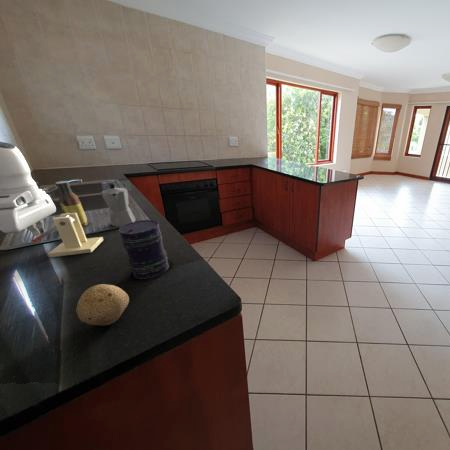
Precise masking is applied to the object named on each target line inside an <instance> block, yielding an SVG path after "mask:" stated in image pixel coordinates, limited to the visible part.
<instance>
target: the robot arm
mask: <svg viewBox="0 0 450 450" xmlns="http://www.w3.org/2000/svg"><path fill="white" fill-rule="evenodd" d="M31 173H32V172H31V168H30V167H29V164H28V162H27V160H26V158H25V156H24V155H23V153H22V152H21V150H20V149H19V147H17V146H16V145H14V144H11V143H10V142H3V141H0V231H1V232H2V233H4V234H14V233H19V232H22V231H24V230H28V231H30V232H31V234H32V236H34V237H38V236H40V235H41V234H43V233H45V232H46V229H45V228H44V226H45V225H44V224H45V221H44V219H45V218H47V217H49V216H51V215H53V214H55V213H56V212H57V207H56V205H55V203H54V202H53V199H52V198H51V196H50V195H49V194H47V193H46V191H45V190H44V189H41V188H39V186H38V184H37V182H36V181H35V180H34V178H33V177H32V174H31Z"/></svg>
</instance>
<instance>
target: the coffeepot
mask: <svg viewBox="0 0 450 450" xmlns="http://www.w3.org/2000/svg"><path fill="white" fill-rule="evenodd" d="M109 186H110V188H108V189H104V190H102V191H101V192H100V195H101V196H102V198H103V200H104V202H105V204H106V206H107V207H108V208H109V216H110V224H111V225H112V226H113V227H122V226H124V225H126V224H129V223H132V222H136V221H137V220H136V217H135V215H134V214H133V212H132V209H131V208H130V207H129V204H130V201H129V194H128V193H129V192H128V189H127V188H124V187H117V186H116V185H115V183H111V184H110V185H109Z"/></svg>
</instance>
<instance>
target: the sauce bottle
mask: <svg viewBox="0 0 450 450" xmlns="http://www.w3.org/2000/svg"><path fill="white" fill-rule="evenodd" d="M55 186H56V187H57V190H58V192H59V193H58V194H59V199H58V200H59V201H58V203H59V205H60V207H61V209H62V212H63V214H66V213H77V215H78V218H79V220H80V223H81V225H82V228H84V227H85V226H87V225H89V222H88V218H87V216H86V213H85V210H84V208H83V205H82V202H81V201H80V199H79V196H78V195H77V194H76V193H74V192H73V191H72V189H71V186H70V182H69V180H61V181H56V182H55Z"/></svg>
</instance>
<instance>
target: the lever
mask: <svg viewBox="0 0 450 450" xmlns="http://www.w3.org/2000/svg"><path fill="white" fill-rule="evenodd" d="M66 217H71V216H70V215H68V216H66ZM71 219H72V222H73V221H74V220H75V219H74V218H73V217H71ZM56 230H57V228H56V225H55V226H53V227H51V228H49V229H48V230H47V231H46V230H45V232H44V233H42V234H40V235H39V236H35V238H33V239H32V240H31V242H32V243H34V244H35V243H38V242H39V241H40V240H42V239H44V238H45V237H47V236H48V235H50V234H51V233H52V232H54V231H56Z"/></svg>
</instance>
